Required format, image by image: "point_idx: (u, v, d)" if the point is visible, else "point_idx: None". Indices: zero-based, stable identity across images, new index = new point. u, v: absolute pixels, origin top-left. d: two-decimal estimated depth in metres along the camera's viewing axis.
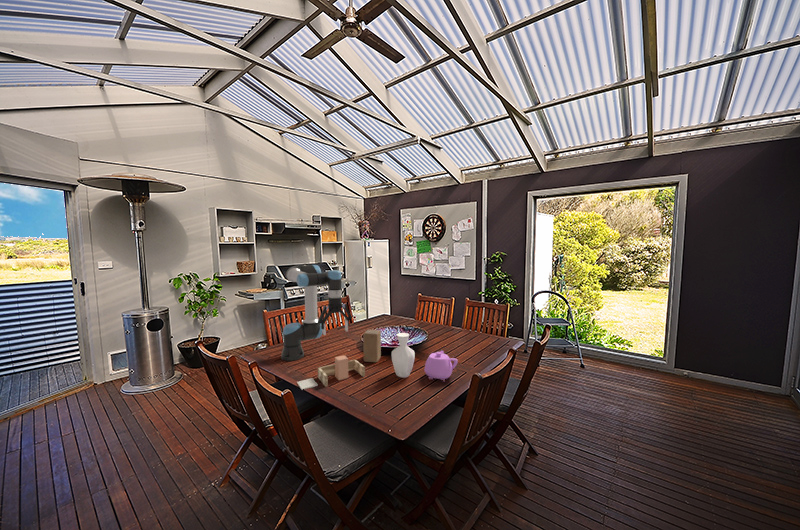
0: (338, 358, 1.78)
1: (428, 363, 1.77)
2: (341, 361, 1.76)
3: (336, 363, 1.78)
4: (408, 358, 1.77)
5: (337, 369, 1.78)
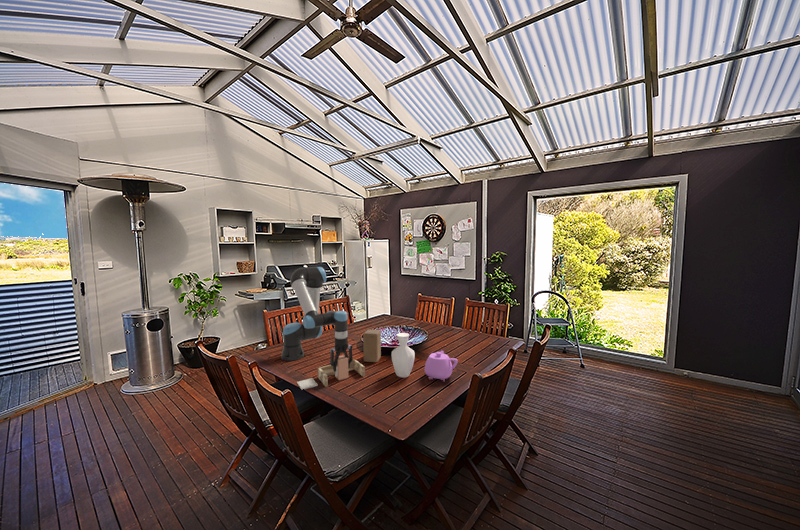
0: (338, 358, 1.78)
1: (428, 363, 1.77)
2: (341, 361, 1.76)
3: None
4: (408, 358, 1.77)
5: None
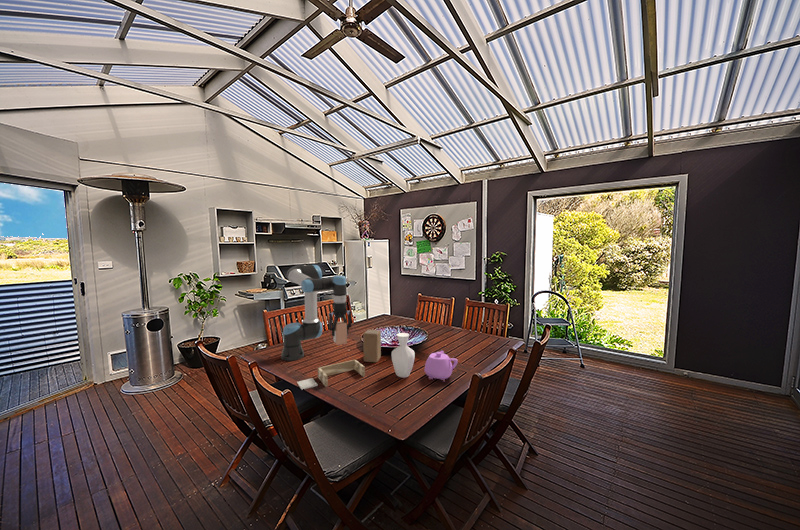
0: (337, 323, 1.77)
1: (428, 363, 1.77)
2: (339, 326, 1.74)
3: (335, 328, 1.77)
4: (408, 358, 1.77)
5: None
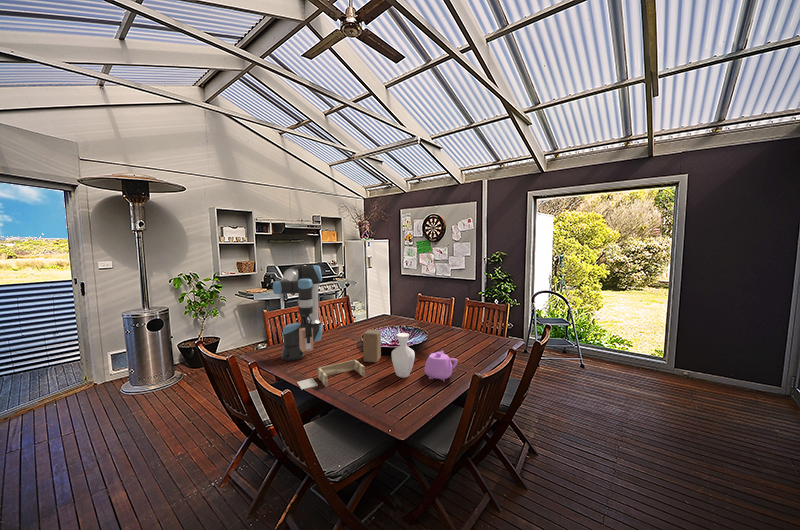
0: None
1: (428, 363, 1.77)
2: (299, 330, 1.68)
3: None
4: (408, 358, 1.77)
5: None
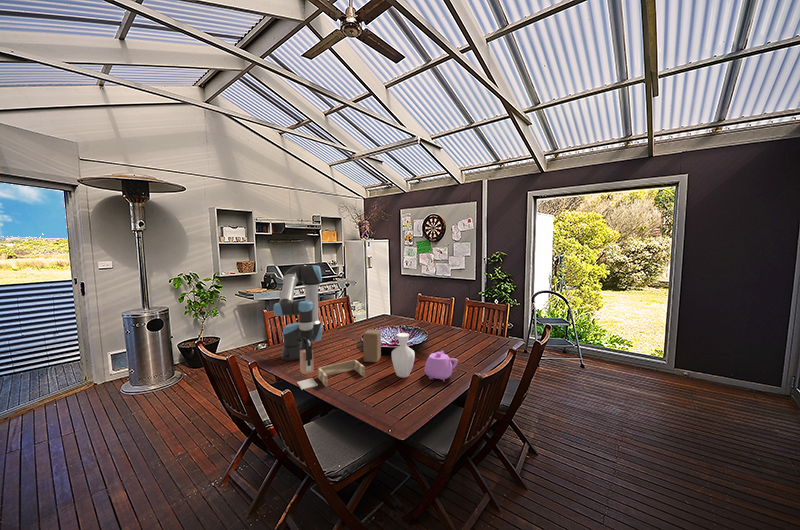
0: None
1: (428, 363, 1.77)
2: (300, 352, 1.69)
3: None
4: (408, 358, 1.77)
5: None
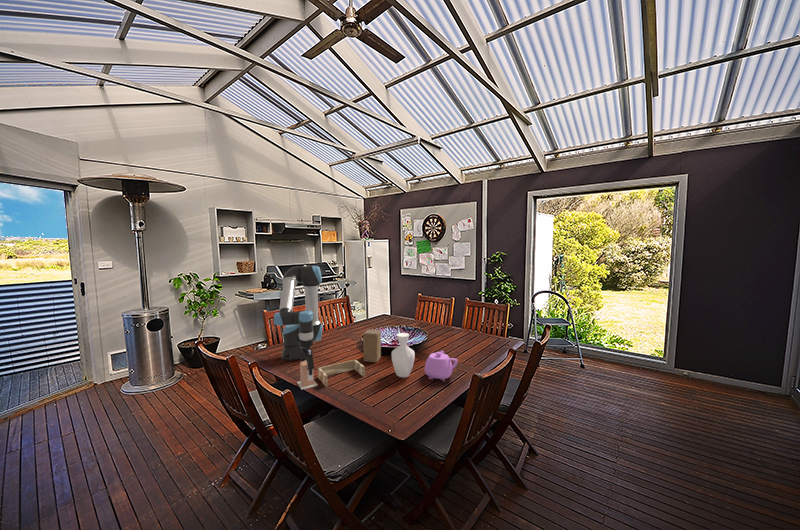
0: (305, 361, 1.72)
1: (428, 363, 1.77)
2: (300, 365, 1.70)
3: None
4: (408, 358, 1.77)
5: None
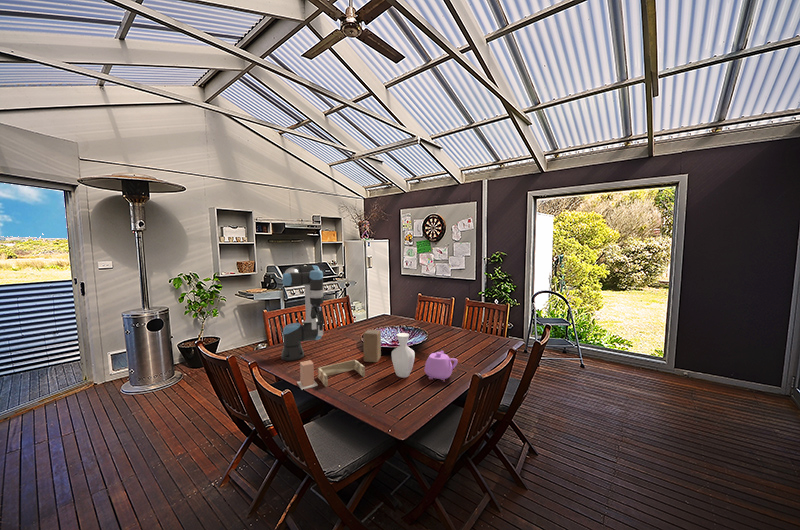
0: (305, 361, 1.72)
1: (428, 363, 1.77)
2: (300, 365, 1.70)
3: None
4: (408, 358, 1.77)
5: None
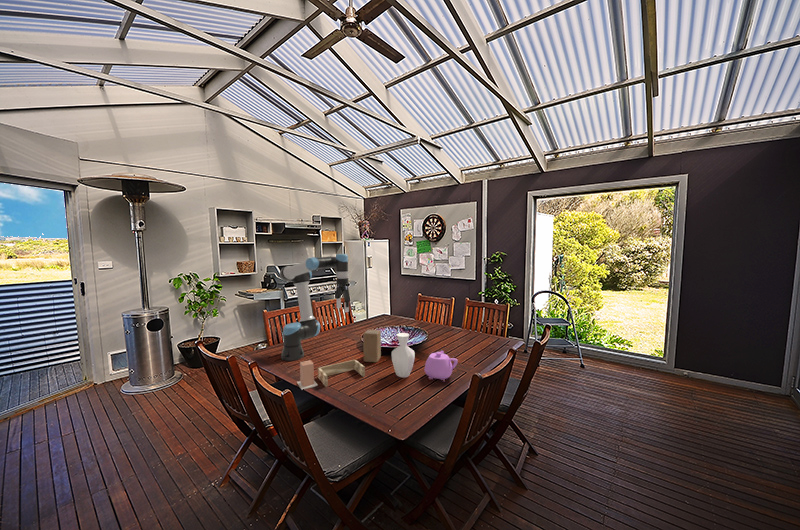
0: (305, 361, 1.72)
1: (428, 363, 1.77)
2: (300, 365, 1.70)
3: None
4: (408, 358, 1.77)
5: None
